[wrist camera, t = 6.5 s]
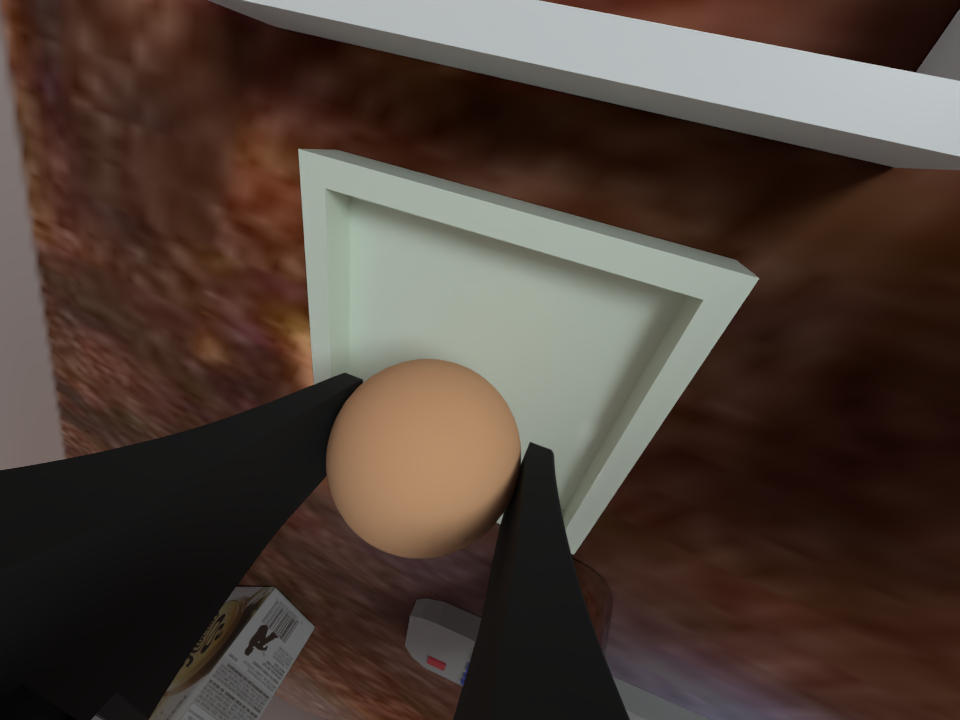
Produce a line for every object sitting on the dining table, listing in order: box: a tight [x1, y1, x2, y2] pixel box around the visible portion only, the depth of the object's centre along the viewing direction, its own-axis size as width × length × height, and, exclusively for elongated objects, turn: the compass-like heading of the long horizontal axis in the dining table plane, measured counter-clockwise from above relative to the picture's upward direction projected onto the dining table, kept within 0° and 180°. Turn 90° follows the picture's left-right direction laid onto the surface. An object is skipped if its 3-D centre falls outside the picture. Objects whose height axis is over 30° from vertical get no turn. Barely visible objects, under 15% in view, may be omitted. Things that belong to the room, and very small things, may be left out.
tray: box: [298, 149, 759, 555], centre depth 13 cm, size 12×12×2 cm
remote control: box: [405, 598, 709, 720], centre depth 24 cm, size 8×23×2 cm, turn 79°
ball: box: [326, 359, 521, 558], centre depth 9 cm, size 5×5×5 cm
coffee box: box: [149, 587, 315, 720], centre depth 27 cm, size 9×6×16 cm
